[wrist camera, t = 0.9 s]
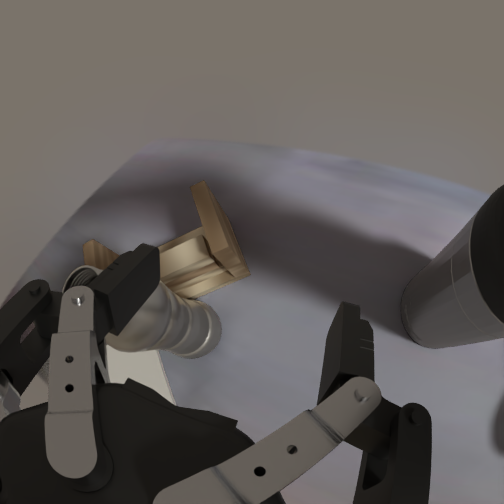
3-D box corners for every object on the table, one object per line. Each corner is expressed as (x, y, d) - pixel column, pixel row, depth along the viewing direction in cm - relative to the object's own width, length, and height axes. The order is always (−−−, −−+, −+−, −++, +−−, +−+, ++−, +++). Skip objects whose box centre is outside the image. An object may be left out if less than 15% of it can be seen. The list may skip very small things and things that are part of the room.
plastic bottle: (166, 320, 35) (41, 274, 17) (213, 294, 35) (109, 222, 17) (186, 368, 33) (58, 362, 14) (237, 343, 33) (137, 319, 14)
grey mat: (152, 328, 35) (149, 328, 35) (176, 405, 31) (174, 405, 31) (100, 348, 36) (98, 348, 35) (120, 418, 32) (117, 419, 31)
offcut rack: (228, 219, 38) (203, 180, 30) (250, 274, 35) (228, 246, 27) (125, 268, 39) (82, 244, 31) (137, 322, 36) (91, 309, 28)
